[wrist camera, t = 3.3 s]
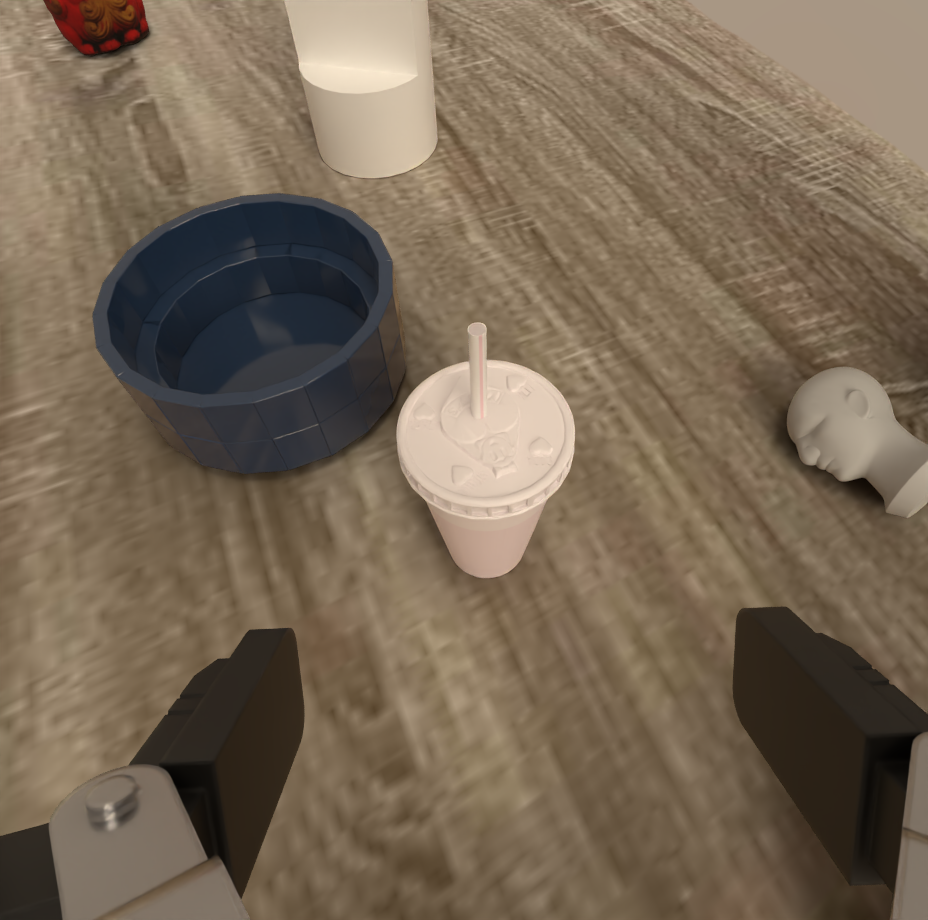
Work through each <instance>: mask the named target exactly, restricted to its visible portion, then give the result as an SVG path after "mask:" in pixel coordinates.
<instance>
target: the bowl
mask: <svg viewBox="0 0 928 920" xmlns="http://www.w3.org/2000/svg"><path fill="white" fill-rule="evenodd" d="M92 317H93V325H94V334H95V342H96V348H97V350H98V352H99V353H100V355H101V356H102V357H103V359H104V360H105V362H106V363H107V365H108V366H109V367H110V369H111V370H112V372H113V373H114V375H115V376H116V377H117V379H118V380H119V381H120V383H121V384H122V385H123V386H124V388H125V389H126V390H127V391H128V393H129V394H130V395H131V397H132V398H133V399H134V400H135V402H136V403H137V404H138V406H139V407H140V408H141V409H142V411H143V412H144V413H145V414H146V416H147V417H148V418H149V420H150V421H151V422H152V423H153V425H154V426H155V427H156V429H157V430H158V431H159V432H160V434H161V435H162V436H163V438H164V439H165V440H166V441H167V443H168V444H169V445H170V446H171V447H173V448H174V449H176V450H178V451H179V452H181V453H182V454H184V455H186V456H187V457H189V458H191V459H192V460H194V461H196V462H197V463H199V464H201V465H203V466H208V467H213V468H217V469H222V470H227V471H232V472H236V473H241V474H250V473H263V472H277V471H287V470H291V469H294V468H297V467H300V466H303V465H306V464H309V463H312V462H314V461H317V460H320V459H323V458H326V457H329V456H331V455H334V454H335V453H337V452H338V451H340V450H341V449H343V448H344V447H346V446H347V445H349V444H350V443H352V442H353V441H355V440H356V439H358V438H359V437H361V436H362V435H364V434H365V433H367V432H368V431H369V430H370V429H371V427H372V426H373V425H374V424H375V423H376V421H377V420H378V419H379V418H380V417H381V416H382V414H383V413H384V412H385V411H386V410H387V408H388V407H389V406H390V405H391V404H392V402H393V401H394V399H395V396H396V393H397V391H398V388H399V385H400V383H401V380H402V378H403V375H404V372H405V370H406V350H405V334H404V328H403V322H402V316H401V310H400V304H399V298H398V292H397V285H396V279H395V273H394V267H393V261H392V259H391V257H390V255H389V253H388V251H387V249H386V247H385V245H384V243H383V241H382V239H381V237H380V235H379V234H378V232H377V231H376V230H374V229H373V228H372V227H371V226H370V225H368V224H367V223H366V222H365V221H364V220H363V219H361V218H360V217H359V216H358V215H357V214H355V213H354V212H353V211H350V210H348V209H345V208H343V207H340V206H338V205H335V204H333V203H330V202H328V201H325V200H323V199H319V198H313V197H305V196H298V195H290V194H283V193H282V194H281V193H275V194H261V195H247V196H240V197H235V198H231V199H227V200H224V201H220V202H216V203H213V204H209V205H205V206H201V207H199V208H196V209H194V210H192V211H189V212H187V213H185V214H183V215H181V216H179V217H177V218H175V219H173V220H171V221H169V222H167V223H165V224H163V225H161V226H158V227H157V228H156V229H154V230H153V231H152V232H150V233H149V234H148V235H147V236H145V237H144V238H143V239H141V240H140V241H139V242H138V243H136V244H135V245H134V246H132V247H131V248H130V249H129V250H127V252H126V253H125V254H124V255H123V257H122V258H121V259H120V261H119V262H118V263H117V265H116V266H115V267H114V268H113V270H112V271H111V272H110V274H109V275H108V276H107V278H106V279H105V280H104V282H103V284H102V287H101V290H100V293H99V296H98V299H97V302H96V305H95V308H94V311H93V315H92Z"/></svg>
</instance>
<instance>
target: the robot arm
mask: <svg viewBox="0 0 928 920" xmlns="http://www.w3.org/2000/svg"><path fill="white" fill-rule="evenodd" d="M733 698H734V704H735V708H736V711H737V715H738V717H739V719H740V722H741V724H742V725H743V727H744V728H745V730H746V731H747V733H748V734H749V736H750V737H751V739H752V740H753V742H754V743H755V745H756V746H757V748H758V749H759V751H760V752H761V754H762V755H763V757H764V758H765V760H766V761H767V763H768V764H769V766H770V767H771V769H772V770H773V772H774V773H775V774H776V776H777V777H778V779H779V780H780V782H781V783H782V785H783V786H784V788H785V789H786V791H787V792H788V794H789V795H790V797H791V798H792V800H793V801H794V803H795V804H796V806H797V807H798V809H799V810H800V812H801V813H802V815H803V816H804V818H805V819H806V821H807V822H808V824H809V825H810V827H811V828H812V830H813V831H814V833H815V834H816V836H817V837H818V839H819V840H820V842H821V843H822V845H823V846H824V848H825V849H826V851H827V852H828V853H829V855H830V856H831V858H832V859H833V861H834V862H835V864H836V865H837V867H838V868H839V870H840V871H841V873H842V874H843V876H844V877H845V879H846V880H847V882H848V883H849V885H850V886H852V885H877V884H886V885H887V887H888V888H889V889H890V891H891V892H892V893H893V898H892V906H891V914H890V920H928V714H926V713H925V712H924V711H923V710H922V709H921V708H920V707H918V706H917V705H916V704H915V703H914V702H913V701H912V700H910V699H909V698H908V697H907V696H906V695H905V694H904V693H902V692H901V691H900V690H899V689H898V688H897V687H896V686H894V685H890V684H889V680H888V679H886V678H885V677H884V676H883V675H882V674H881V673H879V672H878V671H877V670H876V669H872V666H871V665H870V664H869V663H868V662H867V661H866V660H865V659H863V658H862V657H861V656H860V655H859V654H858V653H857V652H855V651H854V650H853V649H852V648H851V647H849V646H847V645H845V644H843V643H841V642H839V641H837V640H835V639H833V638H831V637H829V636H827V635H825V634H823V633H815V632H814V631H813V630H812V629H811V628H810V627H809V626H807V625H806V624H805V623H804V622H803V621H802V620H801V619H800V618H799V617H798V616H797V615H796V614H794V613H793V612H792V611H791V610H790V609H789V608H787V607H763V608H743V609H741V610H740V611H739V613H738V615H737V619H736V632H735V651H734V670H733ZM303 728H304V700H303V691H302V683H301V675H300V666H299V658H298V650H297V642H296V637H295V633H294V631H293V629H292V628H278V629H256V630H249V631H248V632H247V633H246V634H245V636H244V637H243V639H242V640H241V642H240V643H239V645H238V646H237V648H236V649H235V651H234V652H233V654H232V655H231V657H230V658H226V659H217V660H216V661H214V662H213V663H212V664H210V665H209V666H207V667H206V668H205V669H203V670H202V671H200V672H199V673H197V674H196V675H195V676H194V677H193V678H192V680H191V681H190V682H189V684H188V685H187V686H186V688H185V689H184V690H183V692H182V693H181V695H180V699H177V700H176V701H175V703H174V704H173V705H172V707H171V708H170V709H169V711H168V715H165V716H164V718H163V719H162V720H161V722H160V723H159V724H158V726H157V727H156V728H155V730H154V731H153V732H152V734H151V735H150V737H149V738H148V739H147V741H146V742H145V743H144V745H143V746H142V747H141V749H140V750H139V751H138V753H137V754H136V756H135V757H134V758H133V760H132V761H131V762H130V764H129V765H128V766H124V767H120V768H116V769H113V770H110V771H107V772H105V773H102V774H100V775H98V776H96V777H94V778H92V779H90V780H88V781H87V782H85V783H83V784H82V785H80V786H79V787H77V788H76V789H75V790H73V791H72V792H71V793H70V794H68V795H67V796H66V797H65V798H64V799H63V800H62V801H61V802H60V804H59V805H58V806H57V807H56V809H55V810H54V812H53V814H52V816H51V818H50V822H49V823H47V824H43V825H40V826H36V827H33V828H29V829H25V830H21V831H18V832H14V833H10V834H6V835H3V836H0V920H250V918H249V916H248V914H247V912H246V909H245V907H244V905H243V903H242V901H241V899H242V896H243V893H244V891H245V888H246V885H247V883H248V880H249V877H250V875H251V872H252V869H253V867H254V864H255V862H256V859H257V856H258V854H259V851H260V848H261V846H262V843H263V840H264V838H265V835H266V832H267V830H268V827H269V825H270V822H271V819H272V817H273V814H274V811H275V809H276V806H277V803H278V801H279V798H280V795H281V793H282V790H283V787H284V785H285V782H286V780H287V777H288V774H289V772H290V769H291V766H292V764H293V761H294V758H295V756H296V753H297V750H298V748H299V745H300V742H301V739H302V734H303Z"/></svg>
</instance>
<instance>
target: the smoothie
mask: <svg viewBox="0 0 928 920" xmlns="http://www.w3.org/2000/svg"><path fill="white" fill-rule="evenodd" d="M468 345H469V361H467V362H462V363H458V364H455V365H452V366H449V367H446V368H444V369H442V370H440V371H438V372H436V373H434V374H433V375H431V376H430V377H428V378H427V379H425V380H424V381H423V382H422V383H420V384H419V385H418V386H417V387H416V388H415V389H414V391H413V392H412V393H411V394H410V396H409V397H408V398H407V400H406V402H405V403H404V405H403V407H402V410H401V412H400V415H399V418H398V423H397V432H396V437H397V445H398V449H397V451H398V456H399V460H400V465H401V469H402V471H403V473H404V475H405V477H406V478H407V480H408V482H409V483H410V485H411V487H412V488H413V489H414V490H415V491H416V492H417V493H418V494H419V495H420V496H421V497H422V498H423V499H424V500H425V501H426V503H427V505H428V507H429V509H430V511H431V514H432V516H433V518H434V520H435V522H436V524H437V526H438V529H439V531H440V533H441V535H442V537H443V539H444V542H445V544H446V546H447V548H448V550H449V552H450V555H451V557H452V559H453V560H454V562H455V563H456V564H457V566H458V567H459V568H461V569H462V570H463V571H464V572H466V573H468V574H470V575H472V576H475V577H480V578H494V577H498V576H501V575H504V574H506V573H508V572H509V571H511V570H512V569H513V568H514V567H515V566H516V565H517V564H518V563H519V561H520V560H521V558H522V556H523V554H524V551H525V549H526V547H527V545H528V542H529V540H530V538H531V535H532V533H533V531H534V528H535V526H536V524H537V522H538V519H539V517H540V515H541V512H542V510H543V508H544V506H545V503H546V501H547V499H548V498H549V497H550V496H551V495H552V494H553V493H554V492H556V491H557V490H558V489H559V487H560V486H561V484H562V482H563V481H564V479H565V477H566V476H567V474H568V472H569V471H570V467H571V463H572V459H573V455H574V440H575V426H574V420H573V416H572V413H571V410H570V408H569V406H568V404H567V402H566V400H565V399H564V397H563V396H562V394H561V393H560V392H559V391H558V389H557V388H556V387H555V386H554V385H553V384H552V383H551V382H549V381H548V380H547V379H546V378H544V377H543V376H541V375H540V374H538V373H536V372H534V371H533V370H530V369H528V368H526V367H523V366H521V365H518V364H514V363H510V362H505V361H498V360H487V339H486V326H485V325H484V324H482V323H473V324H471V325H470V326H469V327H468Z"/></svg>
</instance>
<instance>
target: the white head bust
mask: <svg viewBox="0 0 928 920" xmlns="http://www.w3.org/2000/svg"><path fill="white" fill-rule="evenodd" d="M787 429H788V433H789V436H790V438H791V439H792V441H793V442H794V443H795V444H796V447H797V450H798V453H799V457H800V460H801V461H802V462H803V463H804V464H806V465H816V466H817V467H818V468H819V469H822V470H826V471H827V472H829V473H831V474H833V475H834V476H835V478H836V479H838V480H839V481H843V482H844V481H850V480H854V479H857V478H865V479H867V480H868V481H869V482H870V483H871V484H872V486H873V487H874V488H875V489H876V490H877V491H878V492H879V493H880V494H881V496H882V497H883V499H884V502H885V510H886V513H889V514H893V515H897V516H901V517H905V518H909V517H910V516H912V515H913V514H915V513H916V512H918V511H919V510H920V509H921V508H922V507H924V506H925V505H926V504H927V503H928V444H925V443H924V442H922V441H920V440H919V439H917V438H916V437H914V436H913V435H911V434H910V433H909V432H908V431H906V430H905V429H904V428H903V427H902V426H901V425H900V424H899V423H898V422H897V420H896V419H895V417H894V414H893V409H892V405H891V402H890V399H889V397H888V395H887V393H886V392H885V390H884V389H883V387H882V386H881V385H880V384H879V383H878V381H876V380H875V379H874V378H873V377H872V376H870V375H869V374H867V373H865V372H863V371H861V370H859V369H856V368H851V367H836V368H831V369H828V370H825V371H822V372H820V373H818V374H816V375H815V376H813V377H812V378H810V379H809V380H807V381H806V382H805V383H804V384H803V385H802V386H801V387H800V388H799V389H798V390H797V392H796V393H795V395H794V397H793V399H792V401H791V404H790V406H789V410H788V415H787Z"/></svg>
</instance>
